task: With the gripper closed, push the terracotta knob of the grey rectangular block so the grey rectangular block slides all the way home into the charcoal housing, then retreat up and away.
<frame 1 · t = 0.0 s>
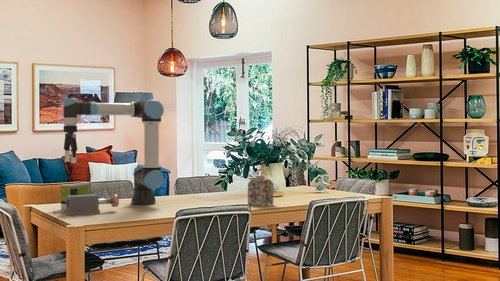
hand: (70, 162, 386), 28 cm above the table, fingers open, 13 cm apart
decorative jar: (260, 205, 417), on the table
housing: (82, 213, 377), on the table
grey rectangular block: (98, 201, 382), point 6 cm above the table, slide at 9.0 cm
tea box: (76, 209, 396), on the table
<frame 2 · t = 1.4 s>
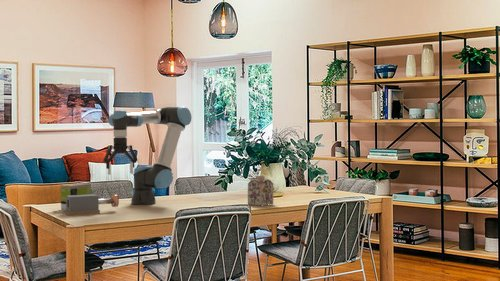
hand: (120, 174, 389), 21 cm above the table, fingers open, 13 cm apart
nothing on the table moved.
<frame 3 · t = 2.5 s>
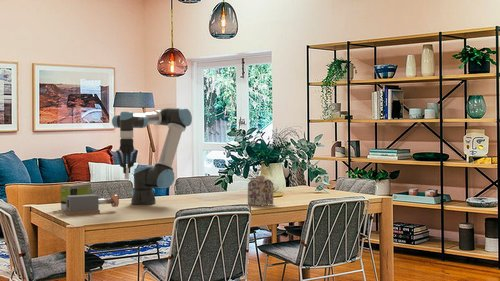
hand: (126, 179, 390), 18 cm above the table, fingers closed
nothing on the table moved.
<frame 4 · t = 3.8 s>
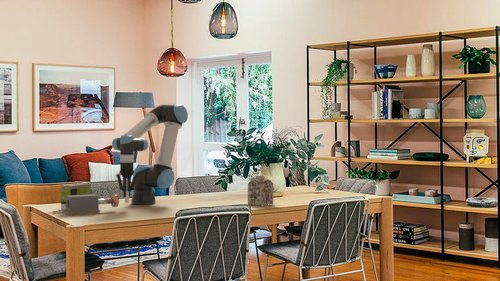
hand: (126, 202, 390), 5 cm above the table, fingers closed
nothing on the table moved.
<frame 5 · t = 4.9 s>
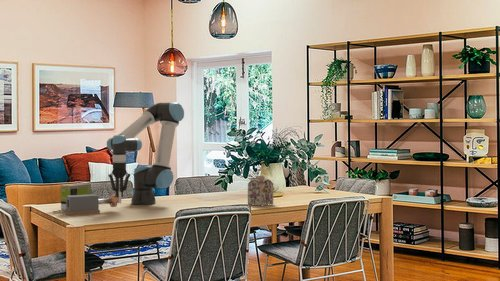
hand: (119, 202, 388), 5 cm above the table, fingers closed
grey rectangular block: (97, 201, 381), point 6 cm above the table, slide at 8.1 cm, touching gripper
everything else where it was.
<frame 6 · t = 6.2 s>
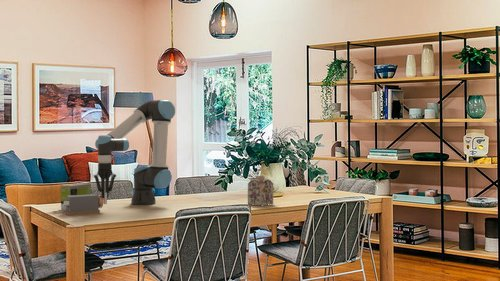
hand: (105, 203, 383), 5 cm above the table, fingers closed
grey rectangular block: (82, 202, 377), point 6 cm above the table, slide at -0.2 cm, touching gripper
everything else where it was.
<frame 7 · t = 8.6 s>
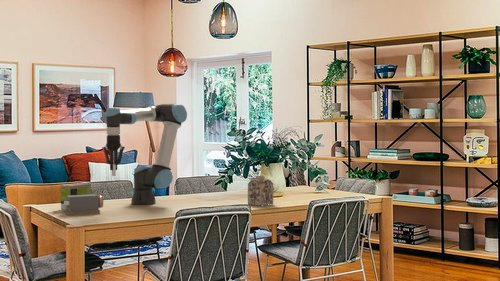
hand: (113, 175, 386), 20 cm above the table, fingers closed
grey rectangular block: (83, 202, 377), point 6 cm above the table, slide at 0.0 cm
everything else where it was.
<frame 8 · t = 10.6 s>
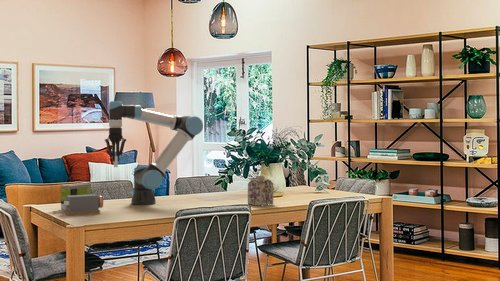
hand: (115, 166, 401), 24 cm above the table, fingers closed
nothing on the table moved.
at the end: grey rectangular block slide at 0.0 cm; tea box moved 0.3 cm from its start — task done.
